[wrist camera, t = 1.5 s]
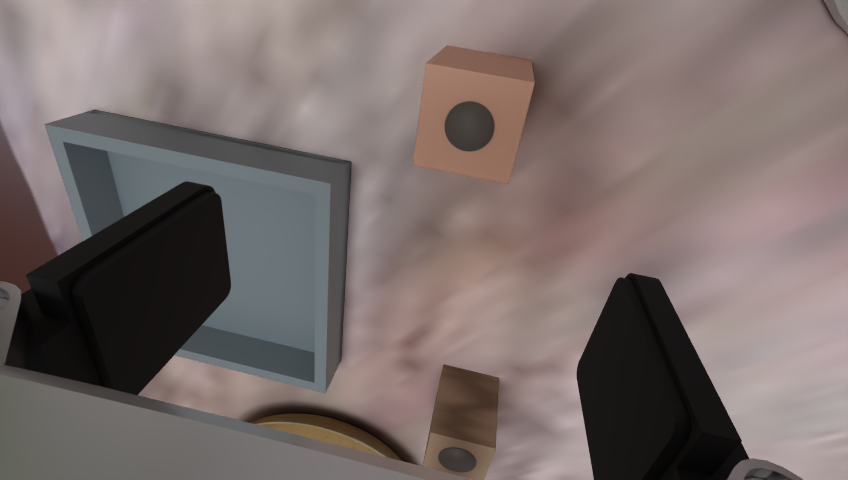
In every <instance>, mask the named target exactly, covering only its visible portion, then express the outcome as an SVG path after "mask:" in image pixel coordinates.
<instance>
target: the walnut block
mask: <svg viewBox="0 0 848 480" xmlns="http://www.w3.org/2000/svg"><path fill="white" fill-rule="evenodd" d="M498 383H499V378H498V377H494V376H490V375H486V374H481V373H477V372H473V371H469V370H465V369H461V368H456V367H452V366H448V365H443V370H442V374H441V378H440V383H439V387H438V392H437V396H436V400H435V405H434V411H433V416H432V421H431V426H430V431H429V436H428V442H427V447H426V452H425V457H424V462H423V467H427V468H430V469H434V470H438V471H442V472H446V473H450V474H454V475H458V476H462V477H466V478H470V479H473V480H484V478H485V476H486V473H487V470H488V468H489V465H490V462H491V460H492V457H493V454H494V452H495V449H496V429H497V406H498Z"/></svg>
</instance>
